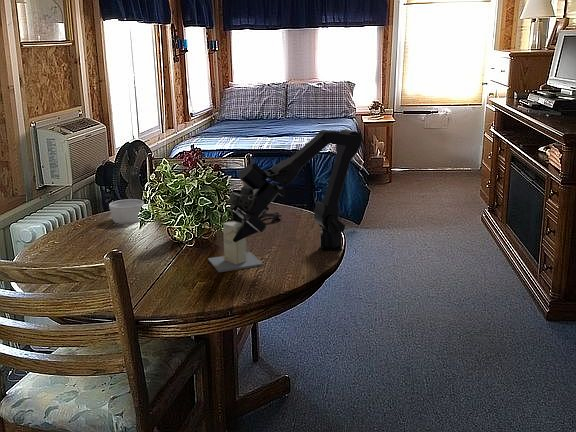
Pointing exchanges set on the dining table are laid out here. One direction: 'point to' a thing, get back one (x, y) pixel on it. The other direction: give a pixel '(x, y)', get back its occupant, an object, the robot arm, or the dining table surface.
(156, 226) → the dining table surface
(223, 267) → the slate mat
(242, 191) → the milk frother
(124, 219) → the white bowl
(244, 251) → the skincare box
